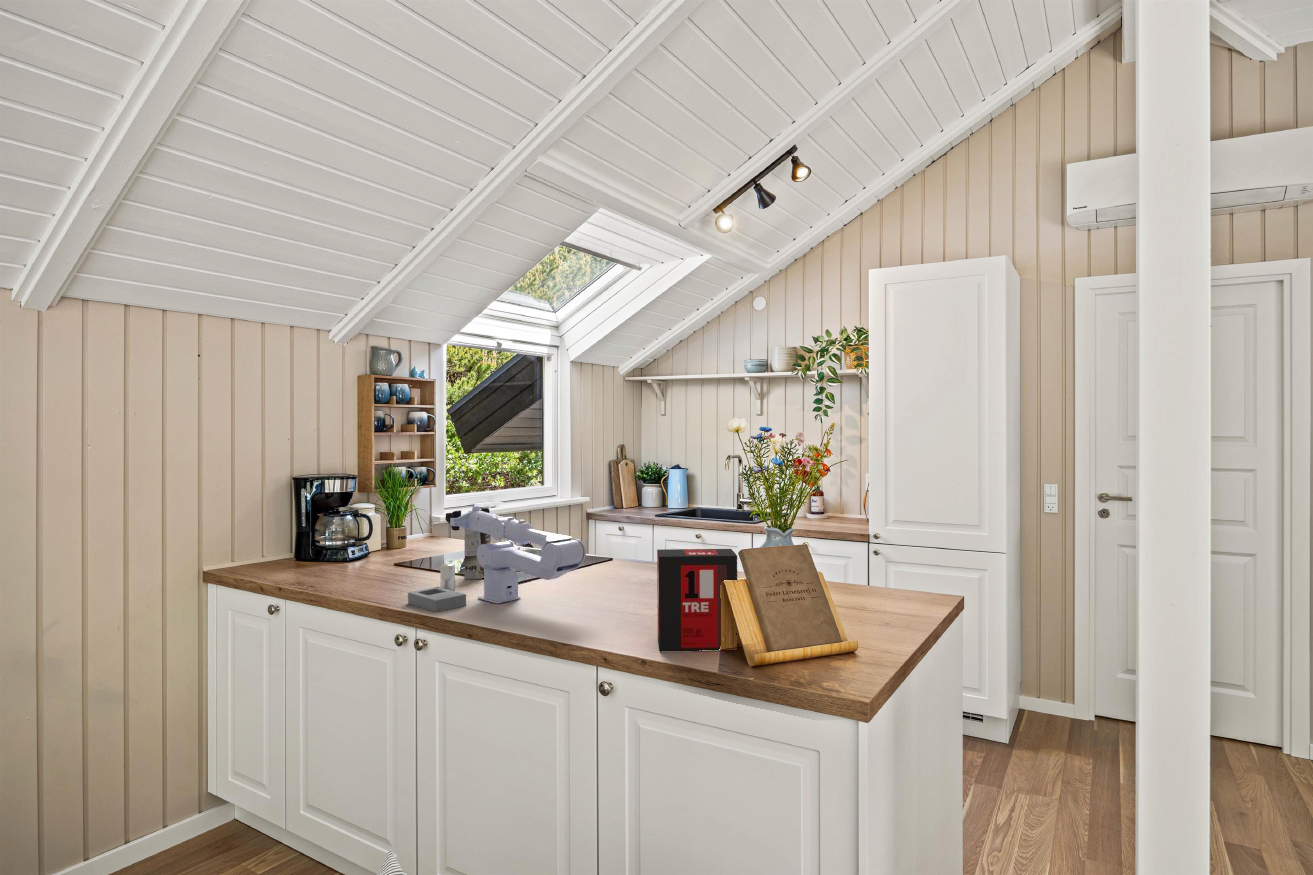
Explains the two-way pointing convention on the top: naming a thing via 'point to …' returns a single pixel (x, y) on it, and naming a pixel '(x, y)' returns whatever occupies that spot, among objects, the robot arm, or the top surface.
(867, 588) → the top surface
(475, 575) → the coffee box
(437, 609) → the socket block
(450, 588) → the peg
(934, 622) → the top surface
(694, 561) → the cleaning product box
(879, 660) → the top surface
